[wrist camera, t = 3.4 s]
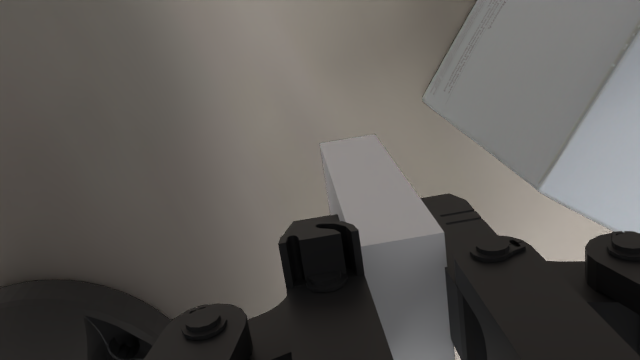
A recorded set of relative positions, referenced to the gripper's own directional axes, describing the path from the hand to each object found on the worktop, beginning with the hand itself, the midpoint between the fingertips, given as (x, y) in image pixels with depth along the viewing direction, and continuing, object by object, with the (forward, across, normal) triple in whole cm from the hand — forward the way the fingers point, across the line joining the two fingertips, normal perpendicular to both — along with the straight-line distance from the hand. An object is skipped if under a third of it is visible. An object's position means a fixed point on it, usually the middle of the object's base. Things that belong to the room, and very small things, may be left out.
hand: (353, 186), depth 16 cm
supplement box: (+13, +10, 0) cm, 16 cm away
